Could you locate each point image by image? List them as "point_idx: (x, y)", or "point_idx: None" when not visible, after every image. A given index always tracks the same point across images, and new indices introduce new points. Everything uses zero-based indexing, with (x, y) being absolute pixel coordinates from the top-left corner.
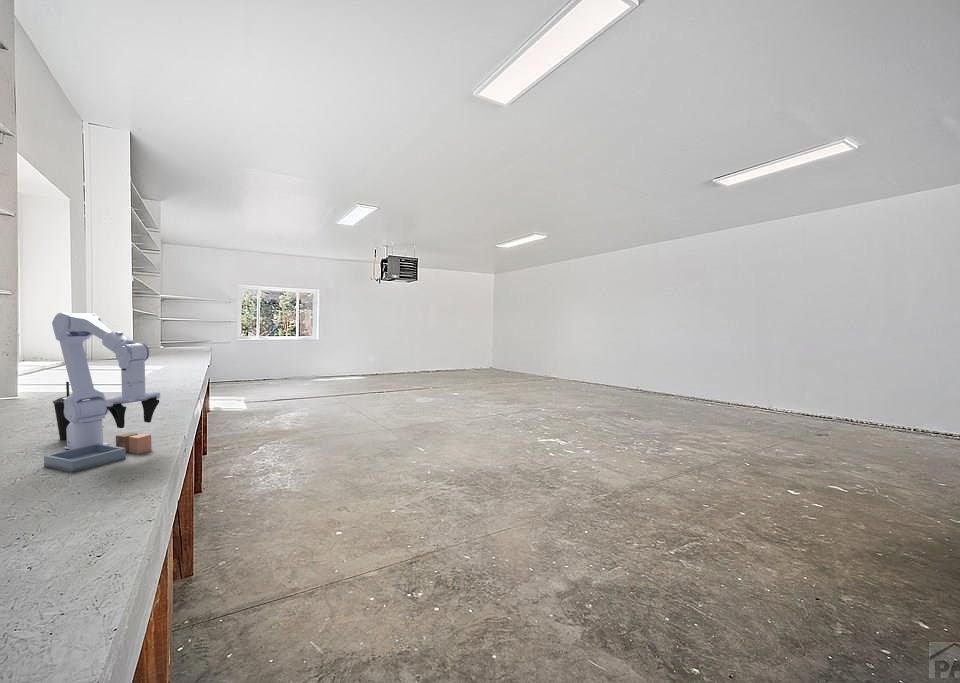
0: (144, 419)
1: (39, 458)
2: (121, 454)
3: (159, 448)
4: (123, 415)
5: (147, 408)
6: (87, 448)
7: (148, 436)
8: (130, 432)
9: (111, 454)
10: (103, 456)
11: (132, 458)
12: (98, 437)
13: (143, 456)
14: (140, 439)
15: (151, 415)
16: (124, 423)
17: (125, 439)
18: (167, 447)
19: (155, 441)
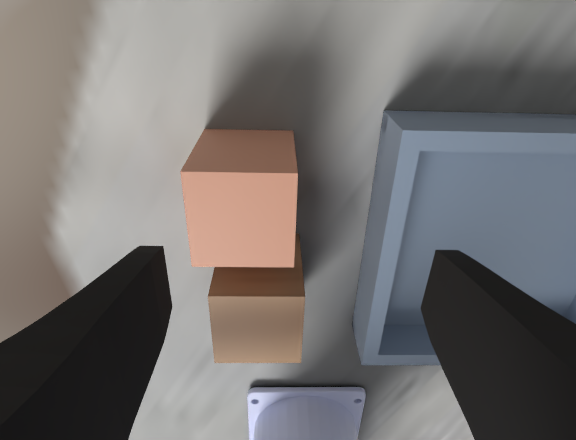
0: (164, 327)
1: (463, 422)
2: (418, 118)
3: (158, 111)
4: (570, 347)
5: (83, 438)
6: (417, 346)
7: (206, 167)
8: (215, 355)
9: (489, 124)
10: (539, 125)
11: (382, 51)
12: (294, 437)
13: (326, 21)
14: (274, 164)
15: (99, 289)
16: (461, 272)
17: (295, 280)
18: (114, 79)
19: (94, 277)
